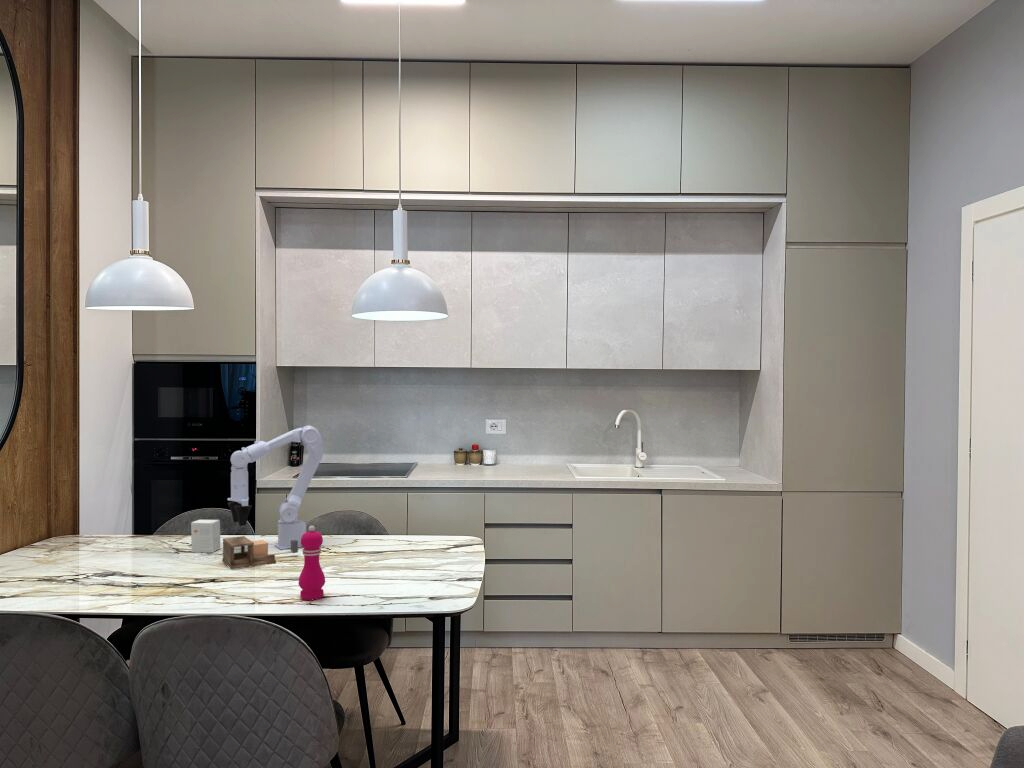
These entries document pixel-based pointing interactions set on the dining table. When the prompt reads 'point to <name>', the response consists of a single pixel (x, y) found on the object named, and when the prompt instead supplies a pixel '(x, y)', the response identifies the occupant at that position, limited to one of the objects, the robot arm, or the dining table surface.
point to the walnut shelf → (242, 554)
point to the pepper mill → (311, 566)
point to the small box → (205, 535)
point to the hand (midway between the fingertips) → (239, 523)
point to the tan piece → (262, 548)
